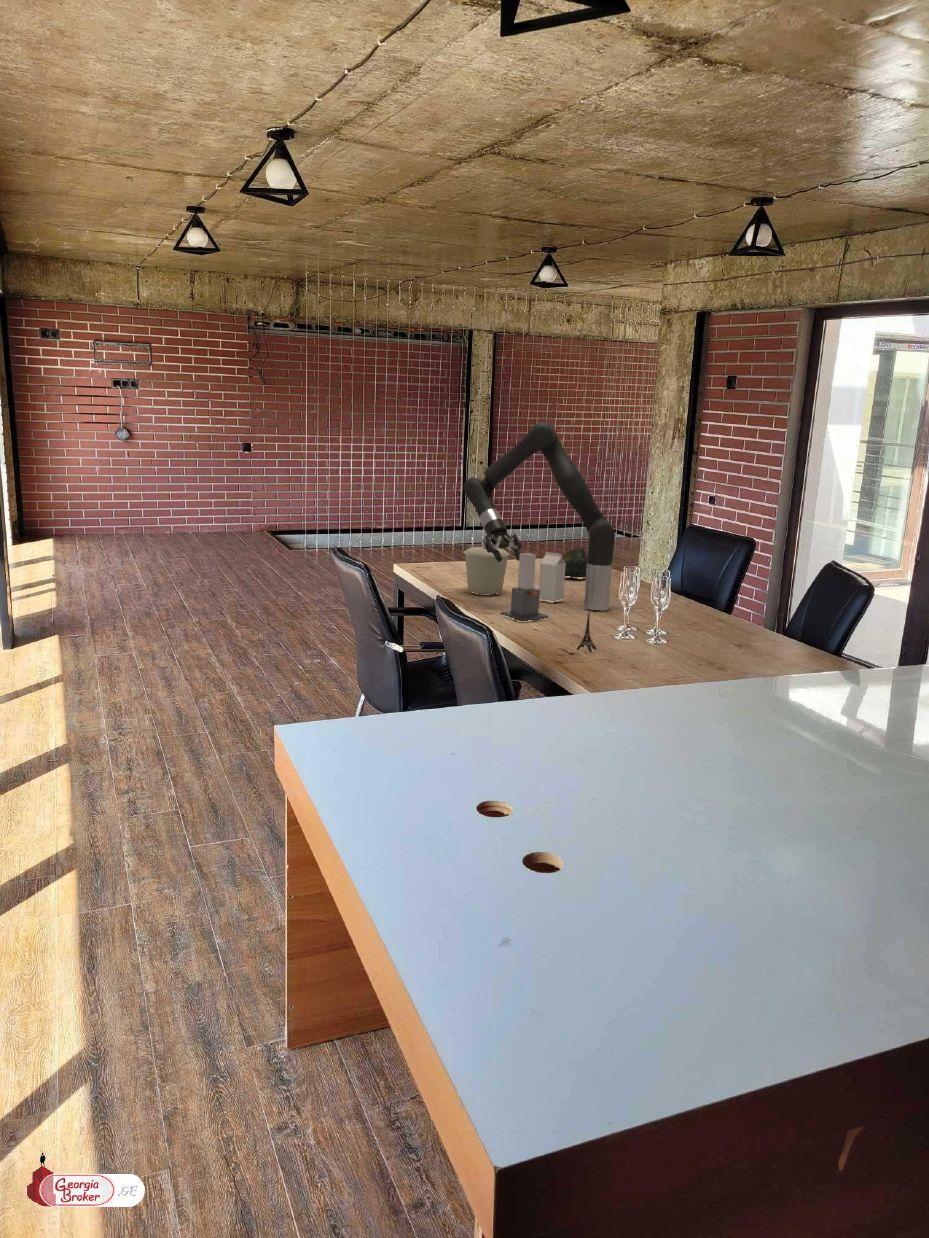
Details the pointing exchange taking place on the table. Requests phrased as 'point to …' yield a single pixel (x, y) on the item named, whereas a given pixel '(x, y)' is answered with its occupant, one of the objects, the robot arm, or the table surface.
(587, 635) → the eiffel tower figurine
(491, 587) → the canister
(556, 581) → the milk carton
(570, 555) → the squash
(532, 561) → the column
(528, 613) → the jack stand base
